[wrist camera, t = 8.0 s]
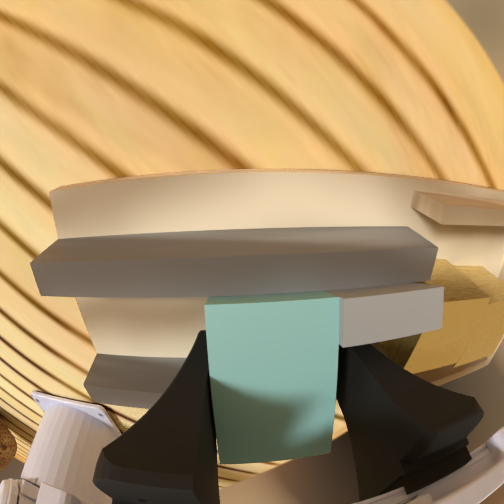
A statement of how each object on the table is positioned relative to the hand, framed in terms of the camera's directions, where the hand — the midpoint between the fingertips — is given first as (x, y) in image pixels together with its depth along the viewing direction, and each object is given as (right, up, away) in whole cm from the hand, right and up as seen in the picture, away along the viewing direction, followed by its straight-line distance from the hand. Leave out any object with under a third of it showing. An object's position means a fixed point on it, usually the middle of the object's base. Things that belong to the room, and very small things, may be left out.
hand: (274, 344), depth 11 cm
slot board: (+4, +1, +3) cm, 5 cm away
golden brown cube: (+7, +2, +2) cm, 8 cm away
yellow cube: (+11, +1, +3) cm, 12 cm away
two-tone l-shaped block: (+2, +2, -1) cm, 3 cm away
